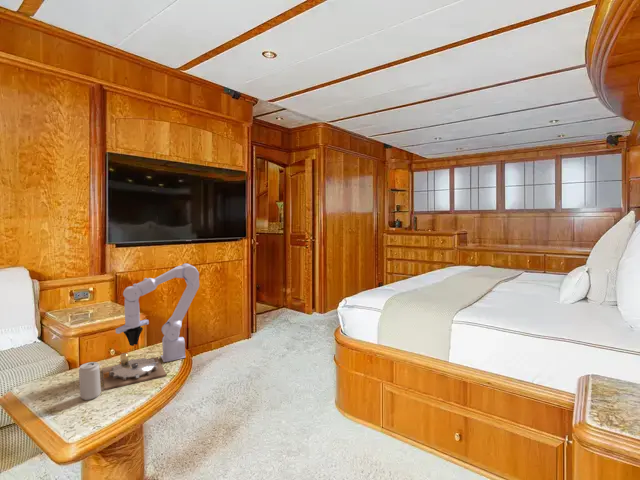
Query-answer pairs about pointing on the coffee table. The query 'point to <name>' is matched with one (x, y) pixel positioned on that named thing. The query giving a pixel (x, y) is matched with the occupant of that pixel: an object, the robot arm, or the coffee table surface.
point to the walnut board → (118, 382)
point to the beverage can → (89, 380)
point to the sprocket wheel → (133, 367)
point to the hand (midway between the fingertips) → (133, 344)
